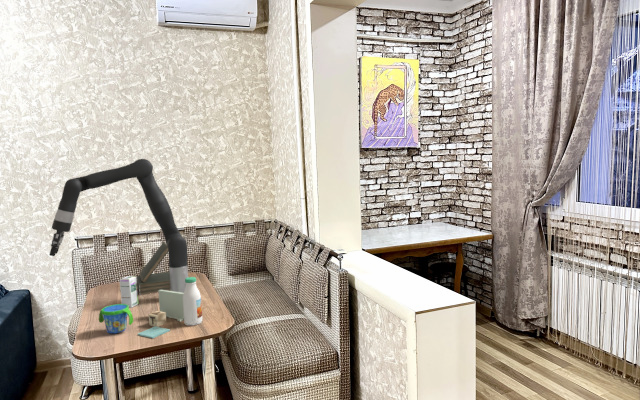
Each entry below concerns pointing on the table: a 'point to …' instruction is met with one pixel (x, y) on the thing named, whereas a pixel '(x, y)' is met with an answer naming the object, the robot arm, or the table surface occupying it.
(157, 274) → the bible
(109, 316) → the snack cup
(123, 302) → the syrup box
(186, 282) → the milk bottle
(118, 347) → the table surface
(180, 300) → the screen
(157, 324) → the letter cube
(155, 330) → the pad
